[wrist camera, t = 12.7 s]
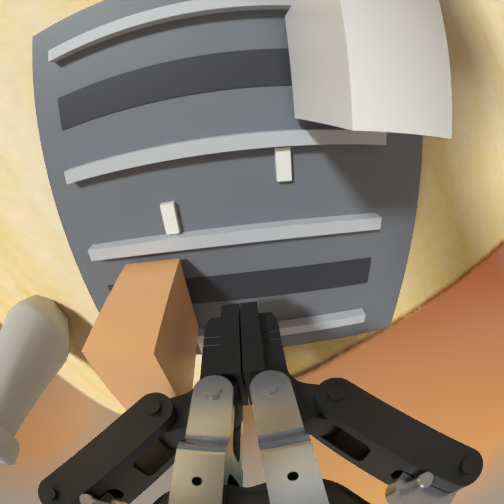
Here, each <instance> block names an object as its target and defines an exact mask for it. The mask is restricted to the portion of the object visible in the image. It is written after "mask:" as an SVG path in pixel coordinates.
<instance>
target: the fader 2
mask: <svg viewBox="0 0 504 504" xmlns="http://www.w3.org/2000/svg"><path fill="white" fill-rule="evenodd" d="M285 23H286V31H287V39H288V48H289V57H290V67H291V78H292V89H293V101H294V114H295V118H297V119H303V120H308V121H313V122H318V123H323V124H327V125H332V126H336V127H340V128H344V129H348V130H352V131H378V132H394V133H406V134H417V135H426V136H434V137H442V138H449V139H452V86H451V72H450V61H449V53H448V45H447V38H446V32H445V27H444V22H443V17H442V12H441V8H440V3H439V0H295V1H294V3H293V4H292V6H291V7H290V9H289V11H288V12H287V14H286V15H285Z"/></svg>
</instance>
